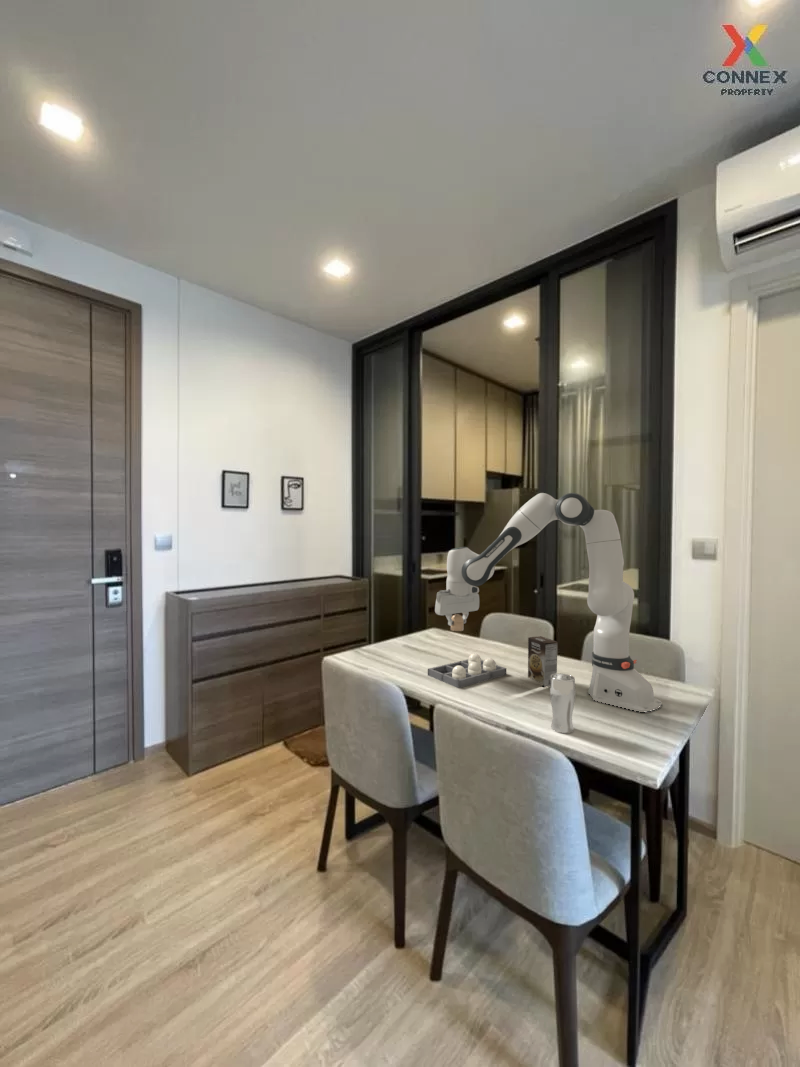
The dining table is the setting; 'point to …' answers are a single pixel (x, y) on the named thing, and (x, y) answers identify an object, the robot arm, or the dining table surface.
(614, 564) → the robot arm
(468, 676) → the egg carton
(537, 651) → the coffee box
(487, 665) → the egg front right
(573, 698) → the beer glass
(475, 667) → the egg front middle
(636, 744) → the dining table surface
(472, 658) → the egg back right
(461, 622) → the brown egg
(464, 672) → the egg front left
